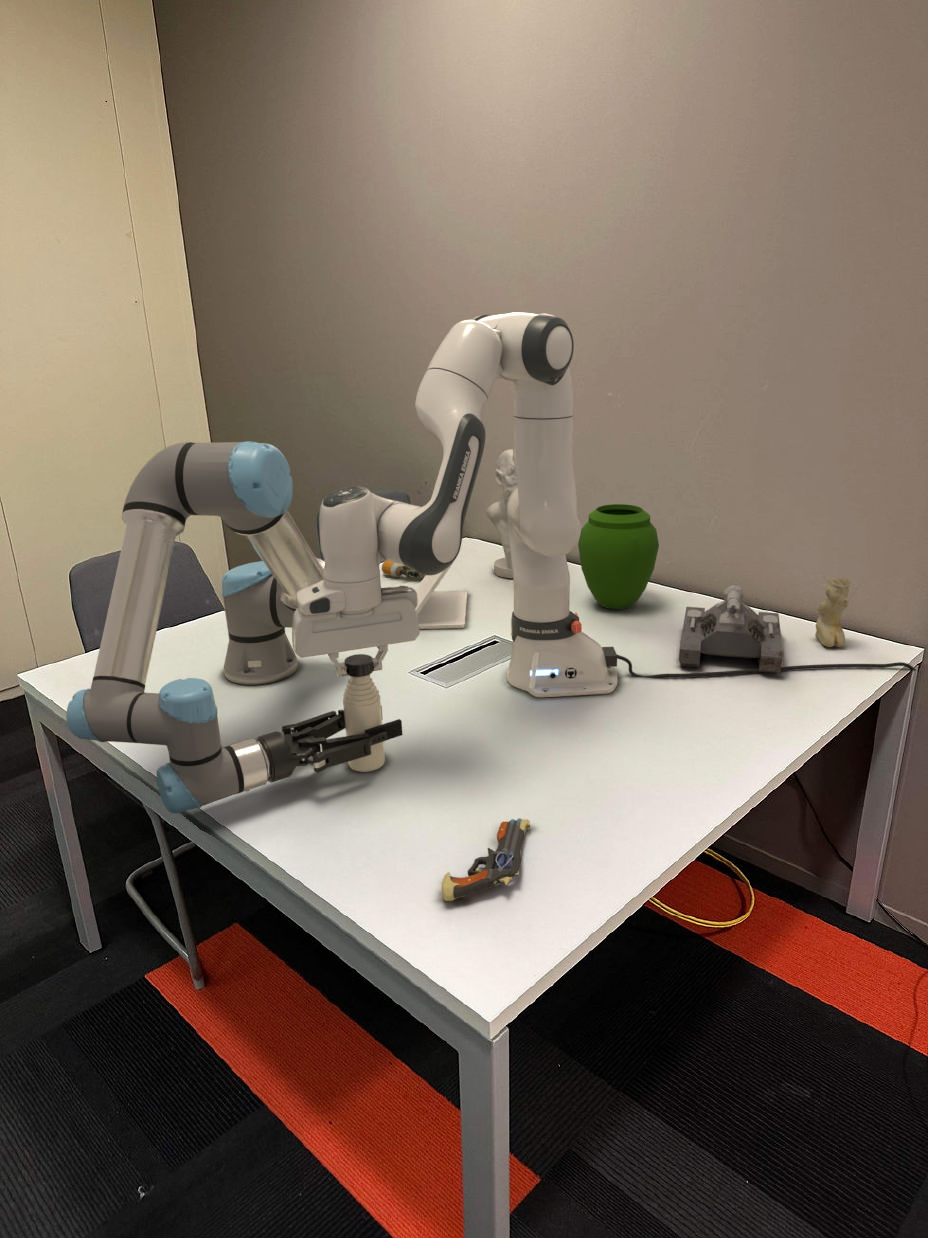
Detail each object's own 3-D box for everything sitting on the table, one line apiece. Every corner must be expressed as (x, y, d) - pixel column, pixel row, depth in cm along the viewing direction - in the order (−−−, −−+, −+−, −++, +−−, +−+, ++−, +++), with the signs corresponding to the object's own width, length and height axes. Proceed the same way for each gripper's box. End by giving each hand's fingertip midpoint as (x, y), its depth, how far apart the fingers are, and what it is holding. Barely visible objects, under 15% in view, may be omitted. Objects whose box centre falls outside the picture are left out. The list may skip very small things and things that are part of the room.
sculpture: (821, 649, 184) (830, 583, 179) (808, 637, 191) (816, 573, 185) (848, 649, 184) (858, 582, 179) (834, 636, 191) (843, 572, 185)
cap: (375, 675, 137) (374, 663, 136) (346, 678, 136) (345, 666, 136) (372, 664, 141) (371, 652, 141) (344, 667, 141) (343, 655, 140)
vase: (599, 587, 227) (601, 497, 218) (668, 600, 216) (673, 505, 208) (562, 608, 212) (564, 513, 204) (634, 623, 202) (639, 523, 193)
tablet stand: (467, 593, 225) (465, 531, 219) (465, 628, 202) (462, 559, 196) (399, 594, 226) (395, 532, 220) (388, 629, 203) (384, 560, 197)
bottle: (390, 766, 144) (383, 667, 137) (355, 775, 141) (346, 675, 135) (377, 750, 149) (370, 654, 142) (343, 758, 146) (335, 661, 140)
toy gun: (436, 889, 109) (513, 888, 107) (464, 814, 127) (530, 813, 125) (439, 907, 110) (516, 907, 108) (466, 831, 128) (532, 829, 126)
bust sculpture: (503, 593, 225) (502, 460, 212) (483, 567, 247) (480, 445, 234) (562, 587, 228) (563, 456, 215) (536, 562, 250) (536, 441, 237)
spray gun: (401, 563, 255) (446, 570, 249) (372, 576, 240) (419, 584, 235) (401, 549, 254) (446, 556, 248) (372, 561, 239) (419, 569, 233)
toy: (684, 626, 199) (689, 565, 194) (775, 633, 193) (782, 570, 188) (677, 670, 176) (682, 601, 171) (780, 679, 171) (788, 608, 165)
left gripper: (242, 756, 142) (366, 718, 154) (288, 809, 127) (421, 761, 139) (237, 716, 140) (363, 680, 151) (283, 765, 125) (418, 720, 136)
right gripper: (411, 578, 140) (415, 655, 145) (285, 594, 134) (294, 674, 139) (422, 589, 134) (426, 669, 139) (291, 606, 128) (300, 690, 133)
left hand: (390, 719), depth 145 cm, fingers closed on bottle, 6 cm apart
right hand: (359, 672), depth 139 cm, fingers closed on cap, 4 cm apart
